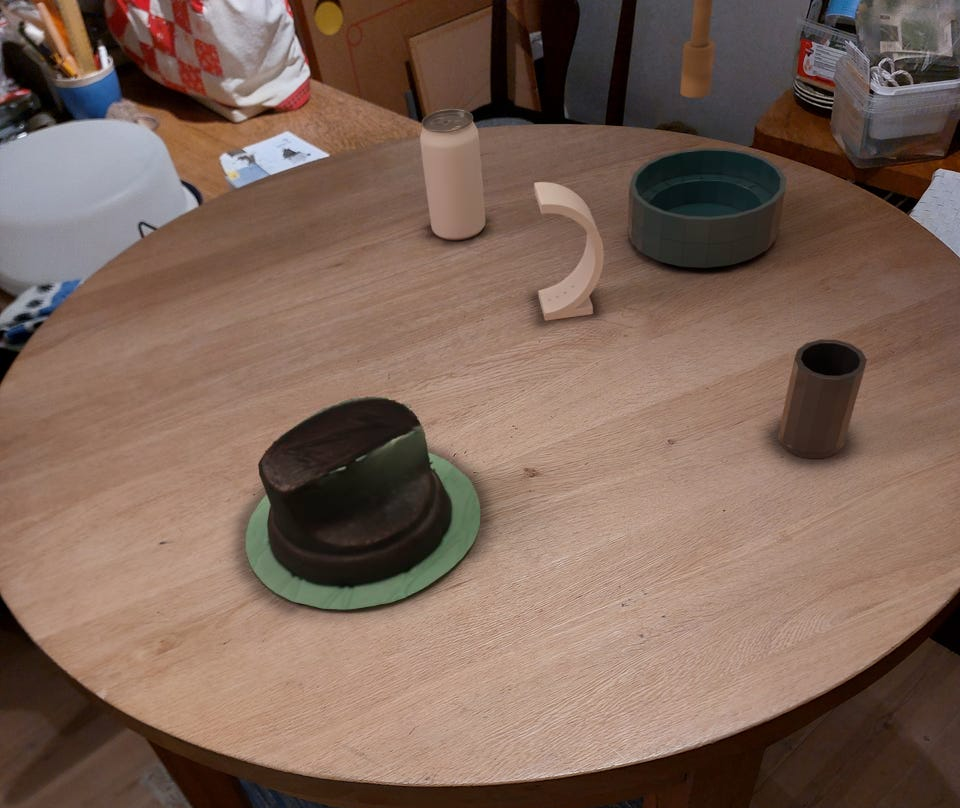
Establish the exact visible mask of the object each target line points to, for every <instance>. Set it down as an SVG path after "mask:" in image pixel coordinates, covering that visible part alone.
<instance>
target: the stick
mask: <svg viewBox="0 0 960 808" xmlns="http://www.w3.org/2000/svg"><path fill="white" fill-rule="evenodd" d="M713 2H714V0H693V13H692V25H691V36H690V40H687V41H686V42H684V44H683V52H682V65H681V77H680V89H679V93H680V95H681V96H683V97H685V98H690V99H691V98H692V99H698V98H703V97H706V96H708V95H709V94H710V93H711V87H712V79H713V70H714V69H713V68H714V60H715V59H714V58H715V49H716V42H715V41H714V40H712V39H710V32H711V22H712V12H713Z"/></svg>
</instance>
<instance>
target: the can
mask: <svg viewBox="0 0 960 808" xmlns="http://www.w3.org/2000/svg"><path fill="white" fill-rule="evenodd" d="M421 126H422V129H421V132H420V137H419V142H420V151H421V152H420V153H421V160H422V167H423V175H424V183H425V190H426V198H427V204H428V212H429V220H430V228H431V230H432V232H433V233H434V234H435V235H436V236H437V237H438V238H439V239H442V240H444V241H445V240H446V241H465V240H467V239H468V240H469V239H471V238H473V237H475V236H478V235H479V234H480V233H481V232H482V230H483V229H484V227H485V226H486V209H485V207H486V206H485V197H484V196H485V195H484V183H483V171H482V160H481V148H480V137H479V131H478V128H477V126H476V124H475V122H474V116H473V114H472V113H471V112H470V111H468V110H466V109H460V108H445V109H441V110H436V111H434V112H431V113H429V114H427V115H425V116H424V117H423V118H422V120H421Z"/></svg>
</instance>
